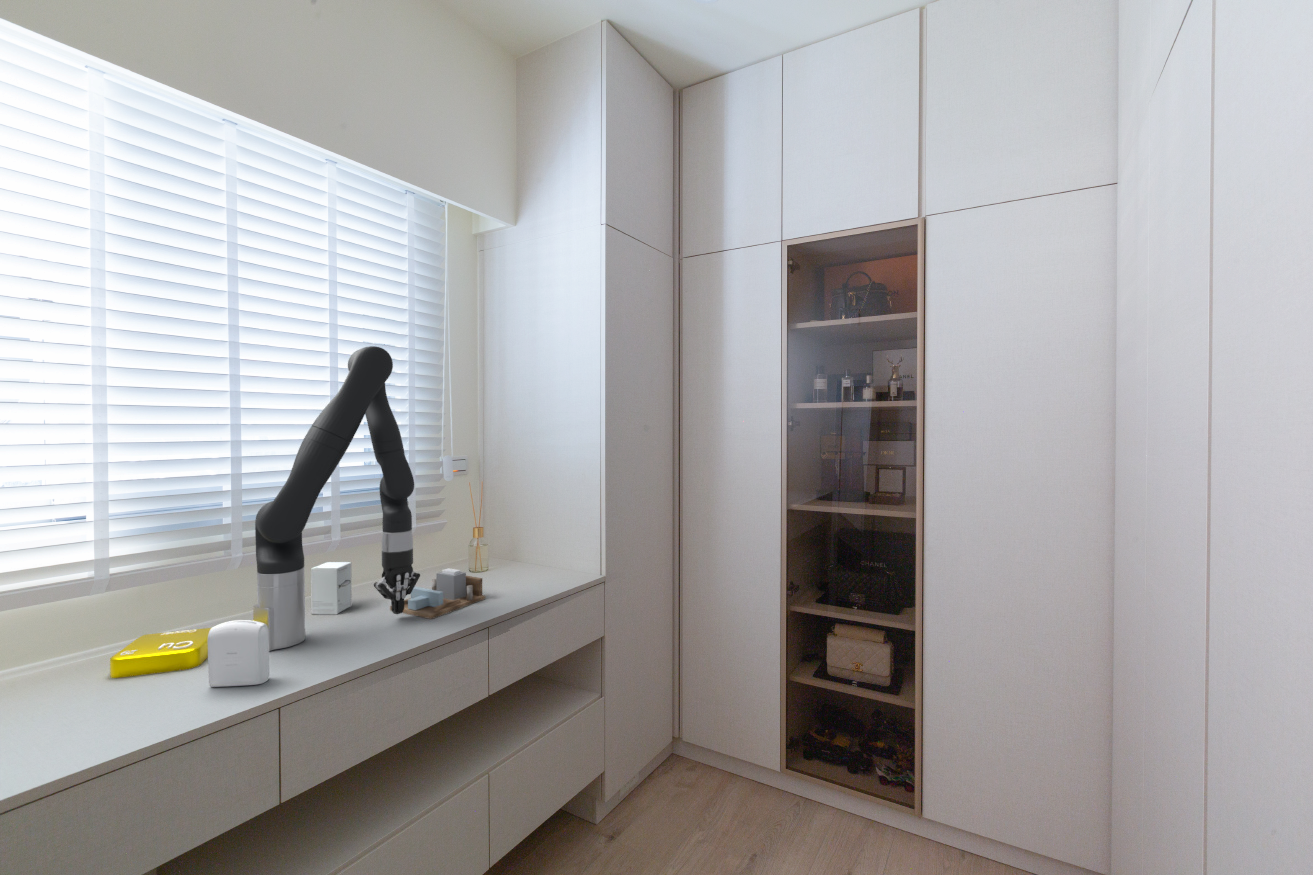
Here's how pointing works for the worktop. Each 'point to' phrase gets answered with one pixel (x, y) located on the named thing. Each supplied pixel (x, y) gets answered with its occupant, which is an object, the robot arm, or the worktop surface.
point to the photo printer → (238, 653)
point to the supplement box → (331, 588)
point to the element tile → (161, 653)
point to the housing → (450, 605)
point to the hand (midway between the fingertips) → (398, 612)
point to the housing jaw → (424, 598)
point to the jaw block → (451, 583)
